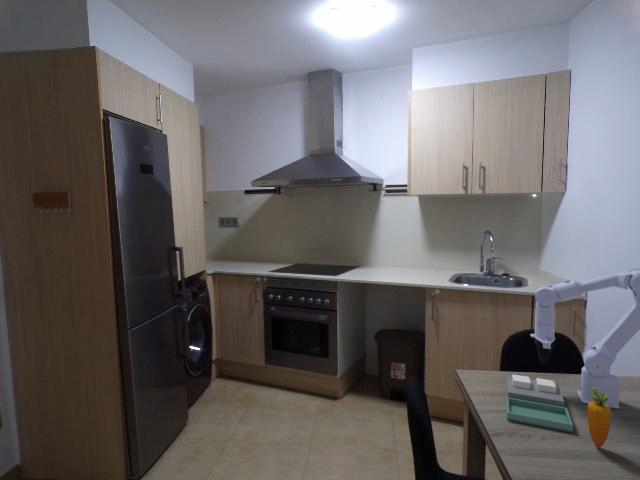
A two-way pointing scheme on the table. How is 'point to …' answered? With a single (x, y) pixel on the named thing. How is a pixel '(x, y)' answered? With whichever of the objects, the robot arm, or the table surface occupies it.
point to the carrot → (599, 419)
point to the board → (534, 394)
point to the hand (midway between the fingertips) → (543, 362)
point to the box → (539, 414)
